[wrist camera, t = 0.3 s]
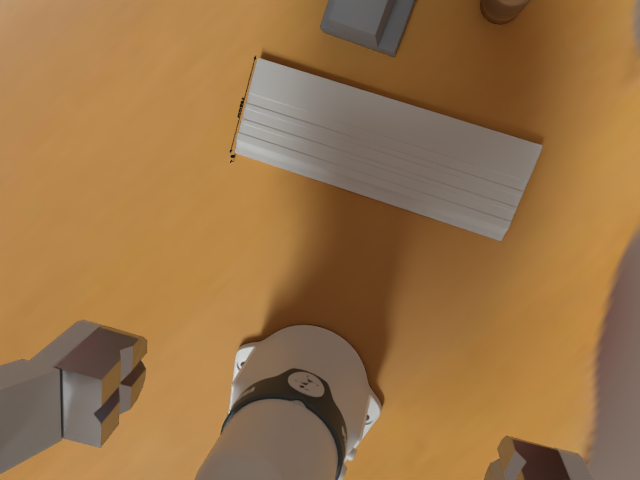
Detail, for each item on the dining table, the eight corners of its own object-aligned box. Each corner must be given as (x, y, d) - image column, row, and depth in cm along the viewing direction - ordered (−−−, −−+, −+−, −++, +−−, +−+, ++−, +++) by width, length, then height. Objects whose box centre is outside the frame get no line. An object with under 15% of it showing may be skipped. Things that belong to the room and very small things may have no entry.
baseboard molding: (494, 252, 50) (538, 145, 48) (500, 258, 48) (547, 145, 45) (233, 164, 54) (261, 59, 51) (224, 165, 51) (253, 54, 48)
